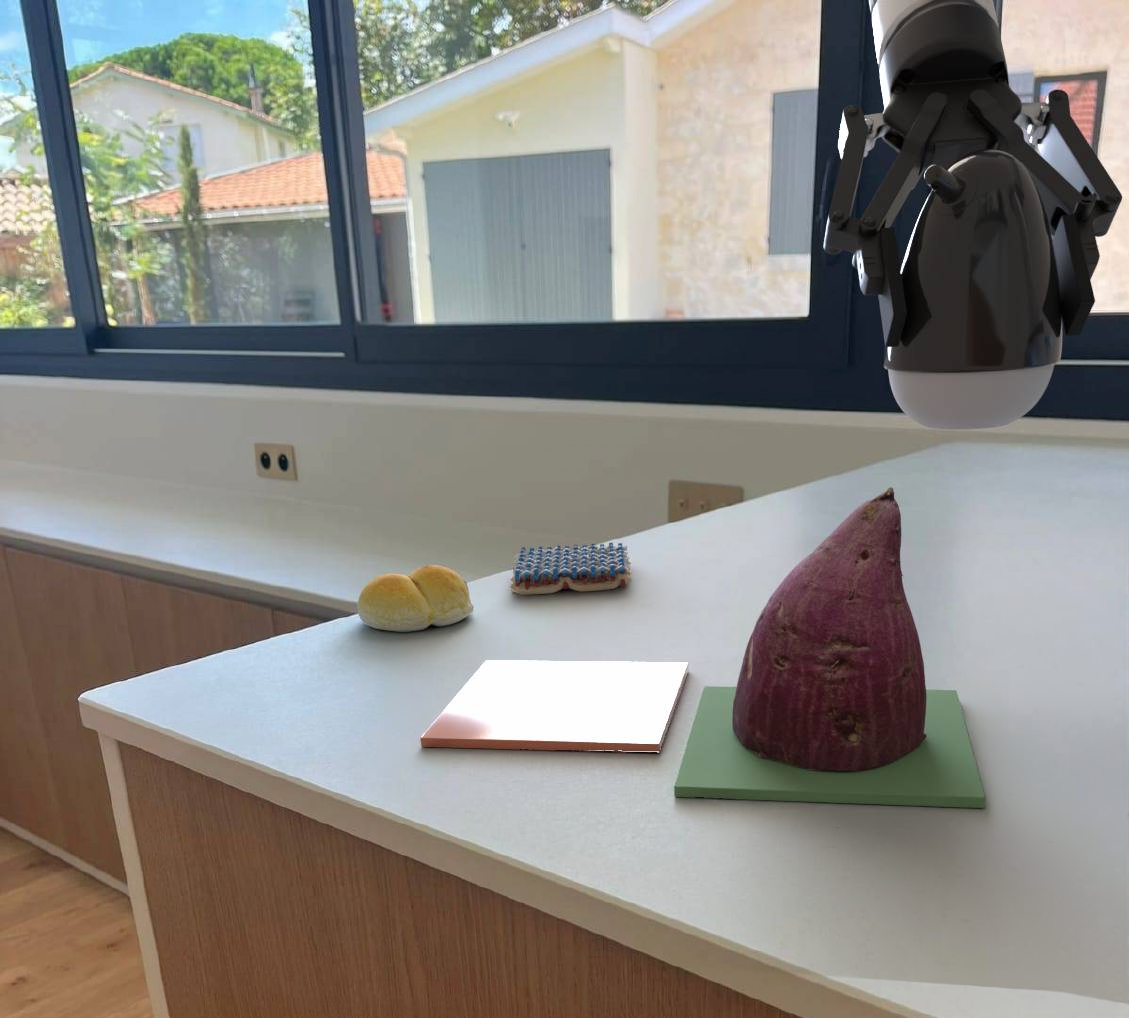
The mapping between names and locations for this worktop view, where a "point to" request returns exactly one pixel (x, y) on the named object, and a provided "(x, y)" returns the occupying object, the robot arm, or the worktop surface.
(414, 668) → the worktop surface
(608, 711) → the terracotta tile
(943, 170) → the pump dispenser
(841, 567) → the vegetable
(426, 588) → the bread roll
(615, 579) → the woven mat
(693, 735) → the green mat
